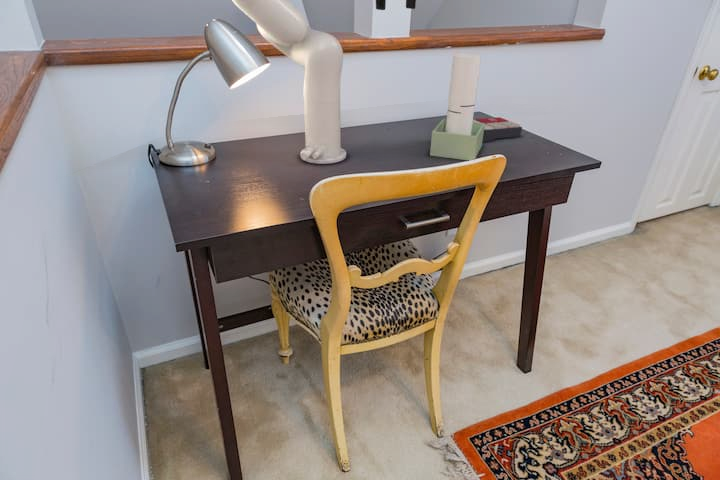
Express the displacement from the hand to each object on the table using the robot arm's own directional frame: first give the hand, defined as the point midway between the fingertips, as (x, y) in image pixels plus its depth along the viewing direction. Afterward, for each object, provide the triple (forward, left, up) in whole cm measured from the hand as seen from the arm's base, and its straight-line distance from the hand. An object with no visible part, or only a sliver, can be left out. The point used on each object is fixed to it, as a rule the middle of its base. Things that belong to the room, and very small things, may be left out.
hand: (395, 9), depth 124 cm
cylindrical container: (+3, -19, -36) cm, 41 cm away
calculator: (+23, -26, -36) cm, 50 cm away
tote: (+4, -19, -36) cm, 41 cm away
